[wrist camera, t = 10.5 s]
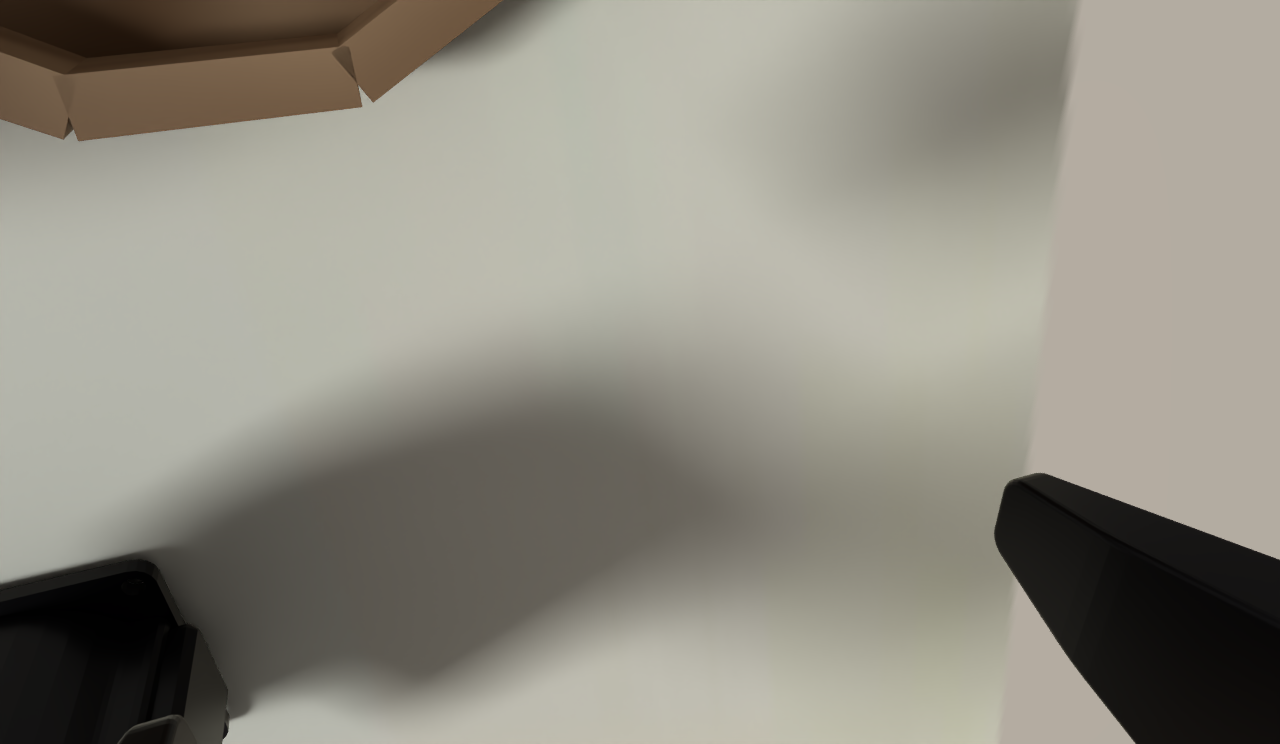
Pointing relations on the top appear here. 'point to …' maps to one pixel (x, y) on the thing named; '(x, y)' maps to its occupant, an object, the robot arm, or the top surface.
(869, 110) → the top surface
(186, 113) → the tray
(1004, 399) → the top surface
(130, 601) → the robot arm
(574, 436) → the top surface
